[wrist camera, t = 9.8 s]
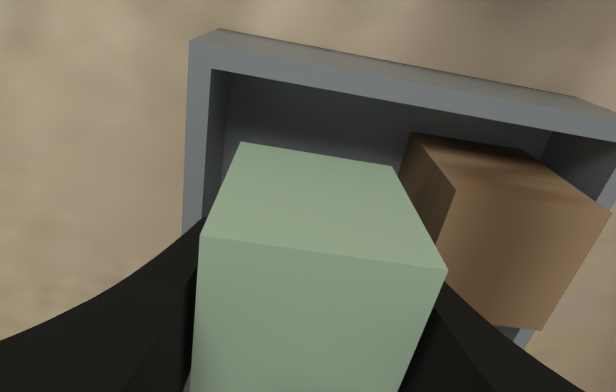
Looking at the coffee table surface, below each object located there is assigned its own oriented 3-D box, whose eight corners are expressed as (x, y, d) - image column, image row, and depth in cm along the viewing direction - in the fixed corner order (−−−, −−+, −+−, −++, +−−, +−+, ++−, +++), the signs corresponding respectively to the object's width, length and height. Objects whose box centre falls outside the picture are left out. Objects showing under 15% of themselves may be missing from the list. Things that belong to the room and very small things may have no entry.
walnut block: (522, 149, 15) (611, 213, 11) (479, 243, 17) (540, 330, 13) (410, 131, 15) (456, 189, 10) (381, 230, 17) (408, 314, 12)
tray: (574, 96, 15) (659, 128, 11) (476, 295, 19) (515, 362, 16) (219, 28, 14) (189, 40, 10) (203, 257, 18) (178, 321, 15)
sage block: (391, 166, 12) (448, 269, 7) (356, 284, 14) (384, 423, 9) (240, 141, 11) (199, 234, 7) (227, 266, 13) (189, 404, 9)
